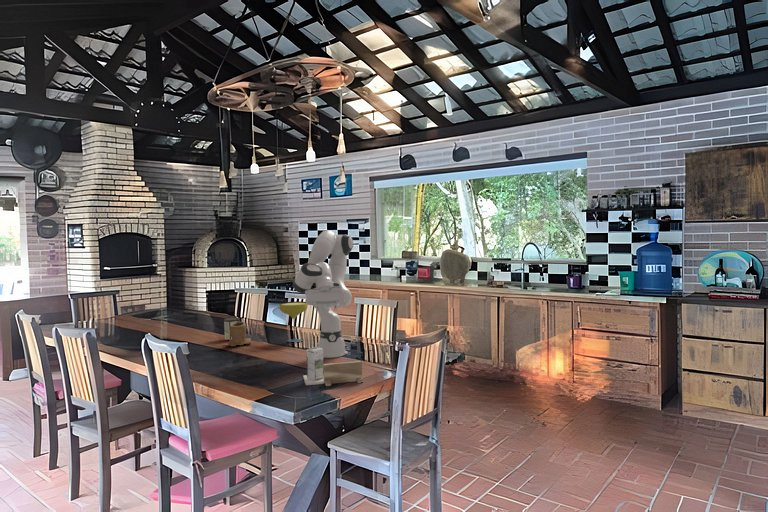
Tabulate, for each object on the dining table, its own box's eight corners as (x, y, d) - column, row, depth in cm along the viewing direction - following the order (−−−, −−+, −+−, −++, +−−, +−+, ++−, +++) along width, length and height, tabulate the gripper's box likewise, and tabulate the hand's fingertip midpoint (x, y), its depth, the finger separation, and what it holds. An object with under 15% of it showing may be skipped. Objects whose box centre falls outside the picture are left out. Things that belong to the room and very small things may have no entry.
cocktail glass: (284, 338, 349) (282, 301, 348) (310, 338, 349) (309, 301, 348) (277, 344, 331) (276, 305, 330) (305, 344, 331) (304, 305, 329)
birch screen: (323, 383, 244) (323, 364, 244) (361, 379, 249) (361, 361, 248) (325, 386, 240) (324, 366, 239) (363, 382, 244) (363, 363, 244)
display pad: (303, 377, 255) (303, 375, 255) (323, 375, 258) (323, 373, 257) (305, 385, 242) (305, 383, 242) (327, 383, 244) (327, 381, 244)
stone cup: (231, 348, 323) (230, 324, 322) (226, 345, 333) (225, 322, 333) (255, 345, 331) (254, 322, 330) (249, 342, 341) (248, 319, 340)
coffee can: (233, 337, 358) (232, 317, 358) (243, 338, 353) (242, 318, 352) (221, 340, 350) (220, 319, 349) (231, 341, 344) (231, 320, 343)
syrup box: (316, 376, 253) (315, 346, 252) (324, 378, 249) (323, 348, 248) (306, 378, 249) (305, 348, 248) (315, 380, 245) (314, 350, 244)
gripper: (304, 285, 270) (306, 306, 261) (344, 283, 274) (346, 304, 264) (304, 293, 274) (305, 314, 265) (343, 291, 278) (346, 312, 269)
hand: (326, 309), depth 265 cm, fingers open, 8 cm apart
